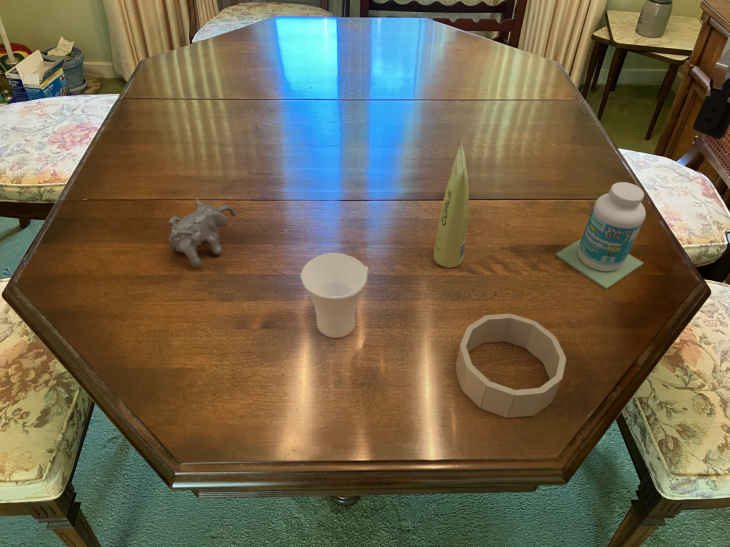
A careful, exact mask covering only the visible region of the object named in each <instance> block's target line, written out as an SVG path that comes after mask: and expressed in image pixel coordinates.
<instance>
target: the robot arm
mask: <svg viewBox="0 0 730 547" xmlns="http://www.w3.org/2000/svg"><path fill="white" fill-rule="evenodd" d="M722 50H723V51H722V53H721V56H720V58H719V59H718V60H717V62H716V63H715V65H714V69H713V74H712V77H710V79H709V82H708V83H709V84H708V85H709V86H708V88H707V89H706V92H705V97H704V99H703V102H702V104H701V107H700V109H699V110H698V113H697V116H696V118H695V120H694V122H693V125H692V129H693V130H694V131H696V132H699V133H701V134H702V135H706V136H709V137H710V138H713V139H716V140H721V139H723V138H724V137H725V136H726V133H727V132H728V129H729V128H730V35H729V36H728V39H727V41H726V43H725V45H724V48H723V49H722Z"/></svg>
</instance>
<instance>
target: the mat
mask: <svg viewBox="0 0 730 547" xmlns="http://www.w3.org/2000/svg"><path fill="white" fill-rule="evenodd" d="M580 241H581V238H580V239H578V240H577V241H574V242H573V243H571V244H570V245H568V246H566V247H564V248H562V249H561V250H559V251H558V252H556V253H555V255H554V256H555V257H557V258H558V259H560V260H561V261H563V262H564V263H566V264H567V265H569V266H571V267H572V268H573V269H574V270H576V271H577V272H579V273H580V274H582V275H583V276H585V277H586V278H588V279H589V280H591V281H593V282H594V283H595V284H597V285H598V286H600V287H602V288H603V289H604V290H607V289H610V288H611V287H612V286H614V285H615V284H616V283H618V282H620V281H621V280H622V279H624V278H626V276H628V275H629V274H631V273H633V272H635V271H636V270H638V268H640V267H642V266H643V265H644V261H641V260H639V259H638V258H637V257H634V256H633V255H631V254H630V253H628V255H627V257H626V259H625V261H624V263H623V265H622V266H621V267H620V268H618V269H616V270H613V271H600V270H596V269H593V268H591V267H589V266H587V265H586V264H585V263H583V262H582V261H581V259H580V258H579V256H578V246H579V244H580Z"/></svg>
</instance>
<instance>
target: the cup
mask: <svg viewBox="0 0 730 547" xmlns="http://www.w3.org/2000/svg"><path fill="white" fill-rule="evenodd" d="M369 273H370V267H369V266H367V265H364V264H363V263H362V262H361V261H360V260H358V259H357V258H355V257H353V256H350V255H348V254H345V253H341V252H329V253H324V254H320V255H317V256H316V257H314V258H312V259H311V260H310V261H308V262H307V263H306V264H305V265H304V267H302V271H301V272H300V275H299V277H300V279H301V282H302V285H303V288H304V289H305V290H306V292H307V293H308V294H309V296H310V299H311V301H312V303H313V304H312V305H313V306H314V311H315V316H316V325H317V329H318V331H319V332H320V333H321V334H323V335H324V336H326V337H328V338H331V339H341V338H343V337H347V336H348V335H350V333H352V331H354V329H355V328H356V323H357V322H356V308H357V307H356V306H357V302H358V300H359V296H360V294H361V293H362V291H363V290H364V289H365V286H366V284H367V283H368V274H369Z"/></svg>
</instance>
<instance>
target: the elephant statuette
mask: <svg viewBox="0 0 730 547" xmlns="http://www.w3.org/2000/svg"><path fill="white" fill-rule="evenodd" d="M195 208H196V209H195V211H193V212H192V213H188V214H186V215H184V216H183V217H182V218H181V217H179V216H177V215H174V216H172V217H170V219H169V221H168V225H169V226H170V227H171V233H170V235H169V237H168V247H169V250H170V251H171V252H173V253H175V252H177V253H183V254H185V256H186V257H187V258H188V260H189V261H190V263H191V266H192V267H193V268H195V269H199V268H200V267H202V264H203V262H202V259H201V258H200V257H199V254H198V252H197V248H198V247H199V246H201V245H202V243H207V245H208V247H209V248H210V250H211V252H212V254H213V255H214V256H219V255H221V254H222V252H223V248H222V247H221V244H220V236H219V232H220V231H219V228H225V227H227V226H228V224H229V221H228V218H227V217H226V215H224V214H223V212H224V211H228V212H229V214H230V215H231V216H232V217H233V218H235V217H237V212H236V211H235V210H234V209H233V207H232V206H231V205H229V204H224V205H221V206H217V207H216V206H213V205H210V204H205V203H204V202H203V201H201V200H199V199H198V198H196V199H195Z"/></svg>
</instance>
